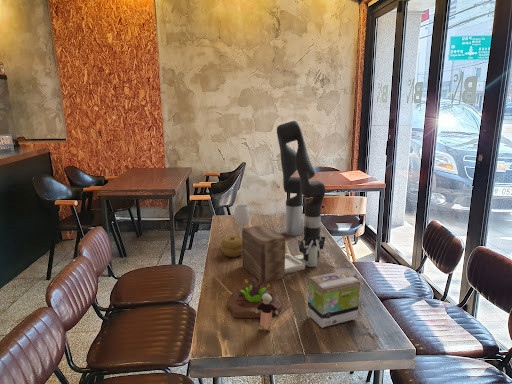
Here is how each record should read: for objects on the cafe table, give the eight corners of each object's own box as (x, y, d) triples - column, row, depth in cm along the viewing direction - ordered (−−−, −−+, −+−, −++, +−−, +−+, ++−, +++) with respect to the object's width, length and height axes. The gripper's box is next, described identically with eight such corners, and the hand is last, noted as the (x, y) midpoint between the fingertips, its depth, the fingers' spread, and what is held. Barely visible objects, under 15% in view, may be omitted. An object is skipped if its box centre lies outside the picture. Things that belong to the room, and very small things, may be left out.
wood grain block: (263, 261, 180) (263, 224, 176) (284, 277, 163) (285, 237, 159) (242, 266, 175) (242, 228, 171) (262, 282, 159) (262, 241, 154)
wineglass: (250, 246, 199) (249, 208, 194) (233, 246, 199) (232, 208, 195) (250, 240, 208) (250, 204, 203) (235, 240, 208) (234, 204, 203)
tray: (295, 256, 185) (295, 251, 185) (312, 267, 173) (312, 261, 172) (267, 263, 178) (267, 257, 177) (282, 274, 166) (282, 268, 165)
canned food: (355, 295, 148) (356, 269, 145) (353, 305, 141) (354, 278, 138) (335, 292, 150) (336, 266, 148) (332, 301, 143) (333, 275, 140)
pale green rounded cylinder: (312, 261, 178) (313, 243, 175) (319, 265, 173) (320, 247, 171) (303, 263, 175) (303, 245, 173) (309, 267, 171) (310, 249, 168)
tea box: (322, 329, 126) (323, 289, 122) (306, 314, 135) (307, 276, 131) (358, 319, 132) (361, 280, 128) (341, 305, 141) (343, 268, 137)
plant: (225, 294, 150) (224, 268, 147) (272, 289, 153) (272, 264, 151) (230, 322, 131) (229, 293, 128) (285, 316, 134) (285, 287, 132)
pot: (227, 249, 196) (226, 231, 193) (248, 252, 192) (247, 233, 189) (217, 257, 185) (216, 238, 182) (239, 261, 181) (239, 241, 179)
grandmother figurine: (255, 331, 125) (255, 296, 122) (255, 324, 128) (255, 291, 126) (278, 331, 125) (278, 296, 122) (277, 324, 128) (278, 291, 126)
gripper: (319, 220, 176) (318, 253, 180) (294, 224, 169) (293, 259, 173) (330, 224, 169) (328, 259, 173) (303, 229, 163) (303, 265, 167)
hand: (311, 259), depth 173 cm, fingers closed on pale green rounded cylinder, 5 cm apart
